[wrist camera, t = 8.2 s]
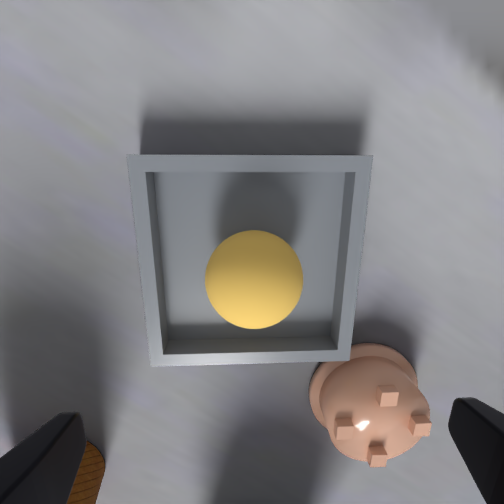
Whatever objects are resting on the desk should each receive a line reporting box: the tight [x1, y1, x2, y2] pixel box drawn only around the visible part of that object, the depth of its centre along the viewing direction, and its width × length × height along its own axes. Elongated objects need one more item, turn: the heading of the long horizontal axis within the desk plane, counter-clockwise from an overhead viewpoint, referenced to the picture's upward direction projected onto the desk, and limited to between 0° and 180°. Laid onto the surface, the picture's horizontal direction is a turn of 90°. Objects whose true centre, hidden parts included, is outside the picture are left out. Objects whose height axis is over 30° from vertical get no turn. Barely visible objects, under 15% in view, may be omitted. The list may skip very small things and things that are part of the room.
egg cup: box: [309, 343, 432, 467], centre depth 20 cm, size 8×8×4 cm
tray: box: [127, 155, 373, 367], centre depth 18 cm, size 12×12×2 cm
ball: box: [205, 230, 303, 329], centre depth 16 cm, size 5×5×5 cm
